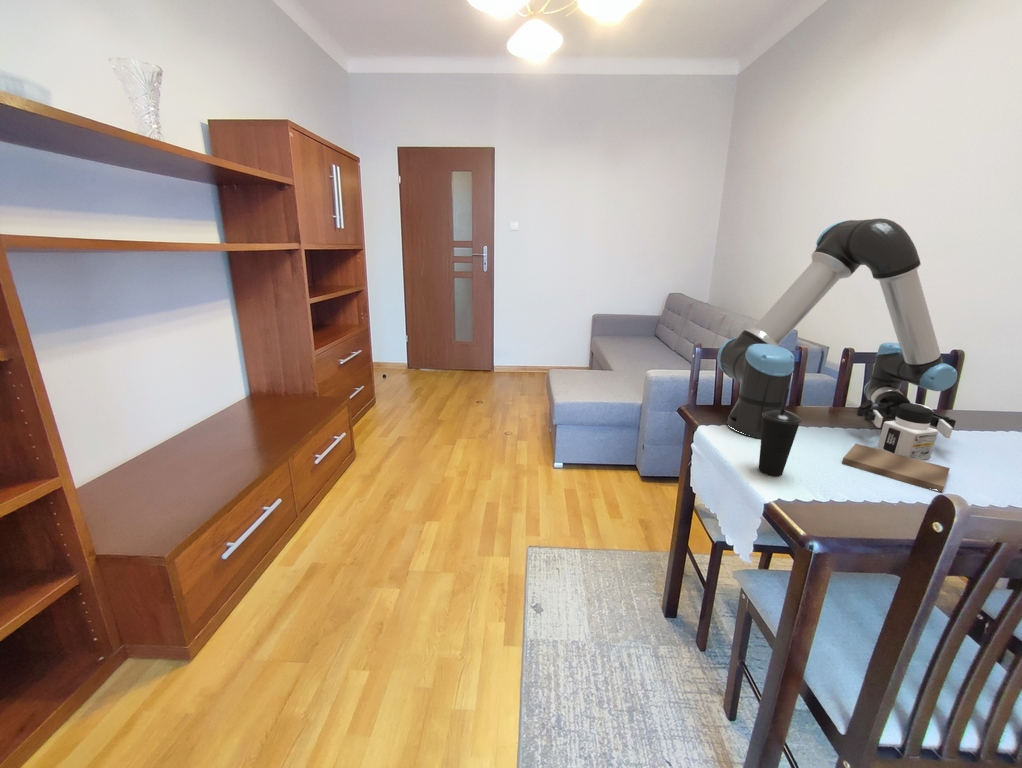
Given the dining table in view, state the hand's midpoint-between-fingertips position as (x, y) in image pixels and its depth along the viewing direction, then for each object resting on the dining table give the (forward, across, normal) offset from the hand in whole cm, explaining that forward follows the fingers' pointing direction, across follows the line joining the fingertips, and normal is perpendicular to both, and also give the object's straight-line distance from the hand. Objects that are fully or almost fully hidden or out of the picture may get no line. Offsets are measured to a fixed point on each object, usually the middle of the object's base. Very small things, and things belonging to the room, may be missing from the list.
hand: (913, 427), depth 113 cm
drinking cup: (+28, +31, -8) cm, 42 cm away
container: (0, 0, -8) cm, 8 cm away
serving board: (+11, +5, -7) cm, 14 cm away
